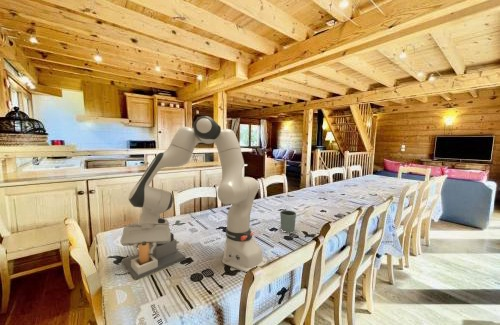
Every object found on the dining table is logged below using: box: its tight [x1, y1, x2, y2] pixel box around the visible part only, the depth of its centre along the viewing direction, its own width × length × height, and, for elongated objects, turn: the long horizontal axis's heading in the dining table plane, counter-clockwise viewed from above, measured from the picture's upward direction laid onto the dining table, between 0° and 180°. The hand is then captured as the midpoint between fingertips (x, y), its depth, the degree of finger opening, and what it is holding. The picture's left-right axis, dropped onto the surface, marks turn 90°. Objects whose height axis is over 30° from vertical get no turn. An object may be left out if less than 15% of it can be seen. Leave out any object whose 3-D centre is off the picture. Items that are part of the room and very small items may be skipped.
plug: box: [138, 241, 150, 265], centre depth 92 cm, size 4×4×10 cm
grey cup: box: [280, 209, 297, 233], centre depth 139 cm, size 10×10×12 cm
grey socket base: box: [121, 231, 186, 281], centre depth 99 cm, size 17×22×10 cm
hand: (143, 254), depth 91 cm, fingers closed on plug, 4 cm apart
